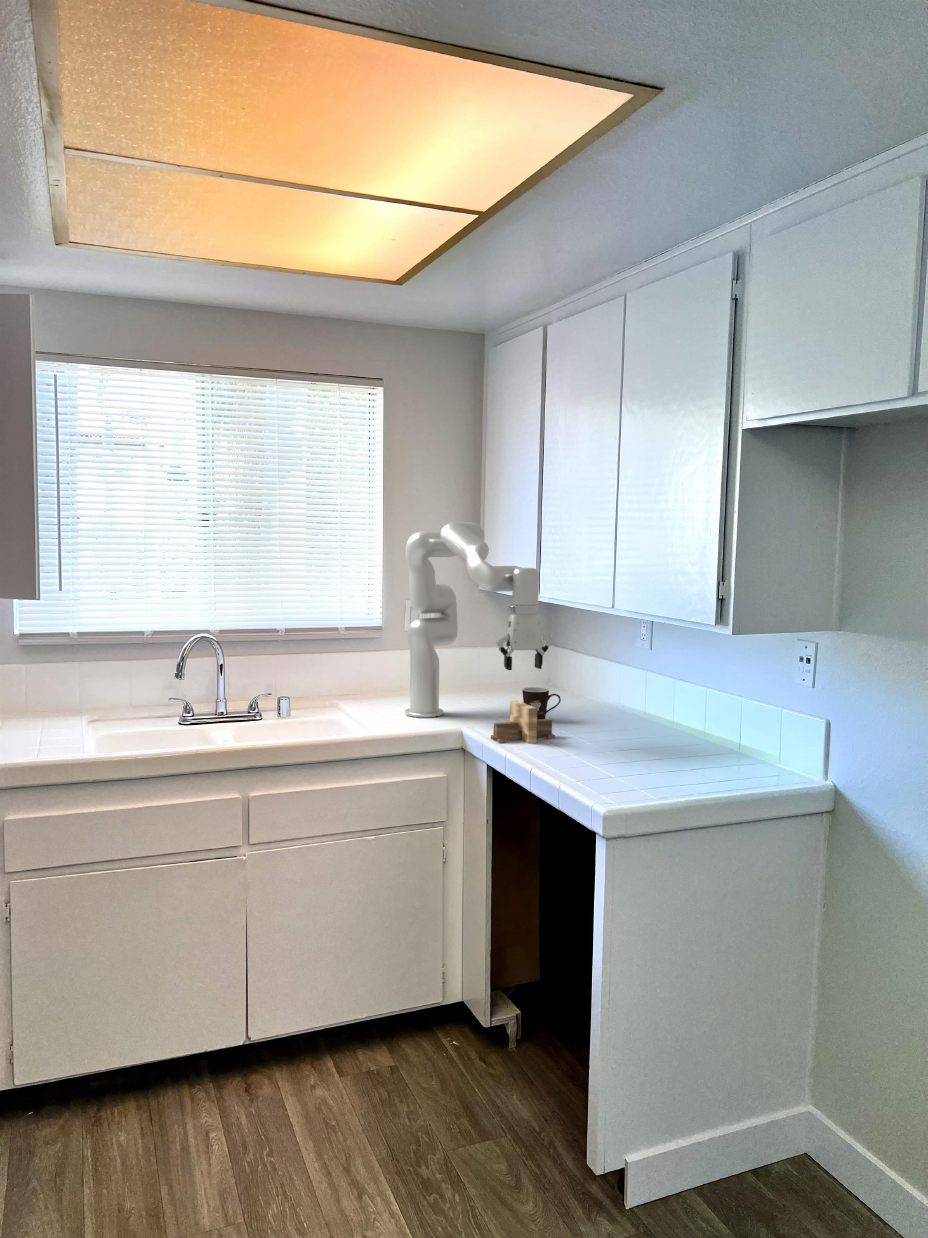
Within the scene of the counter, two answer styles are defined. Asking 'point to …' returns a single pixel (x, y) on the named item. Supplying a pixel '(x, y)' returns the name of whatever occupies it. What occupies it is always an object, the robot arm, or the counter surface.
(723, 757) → the counter surface
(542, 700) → the coffee mug
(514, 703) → the oak slotted plate
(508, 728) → the walnut notched block
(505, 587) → the robot arm
